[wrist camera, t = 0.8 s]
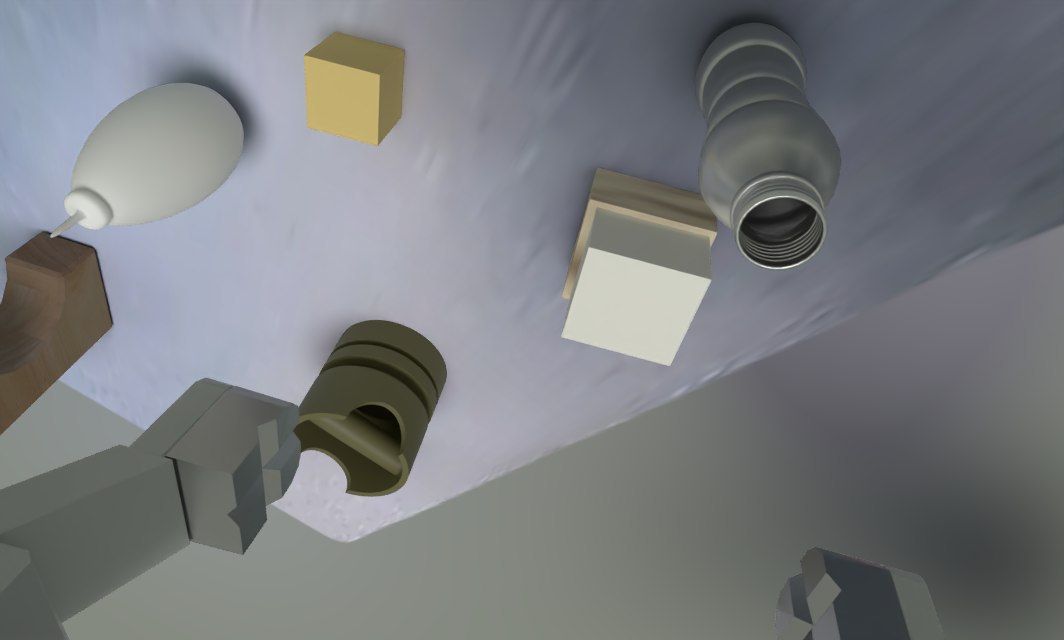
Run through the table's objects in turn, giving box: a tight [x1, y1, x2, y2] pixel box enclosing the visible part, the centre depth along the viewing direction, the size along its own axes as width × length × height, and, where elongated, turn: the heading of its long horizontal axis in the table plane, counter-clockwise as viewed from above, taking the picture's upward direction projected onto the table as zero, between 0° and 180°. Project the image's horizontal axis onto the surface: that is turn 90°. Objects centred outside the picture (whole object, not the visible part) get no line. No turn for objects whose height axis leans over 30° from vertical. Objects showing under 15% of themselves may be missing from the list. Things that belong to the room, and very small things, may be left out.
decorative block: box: [0, 232, 112, 435], centre depth 59 cm, size 11×6×20 cm, turn 163°
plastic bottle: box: [695, 23, 841, 270], centre depth 34 cm, size 6×7×20 cm
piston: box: [293, 320, 447, 497], centre depth 61 cm, size 11×12×11 cm
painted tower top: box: [561, 207, 712, 366], centre depth 46 cm, size 8×8×5 cm
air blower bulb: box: [50, 83, 244, 237], centre depth 44 cm, size 8×8×18 cm
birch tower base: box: [562, 167, 717, 300], centre depth 49 cm, size 9×9×5 cm
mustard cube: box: [304, 32, 405, 146], centre depth 45 cm, size 5×5×5 cm
